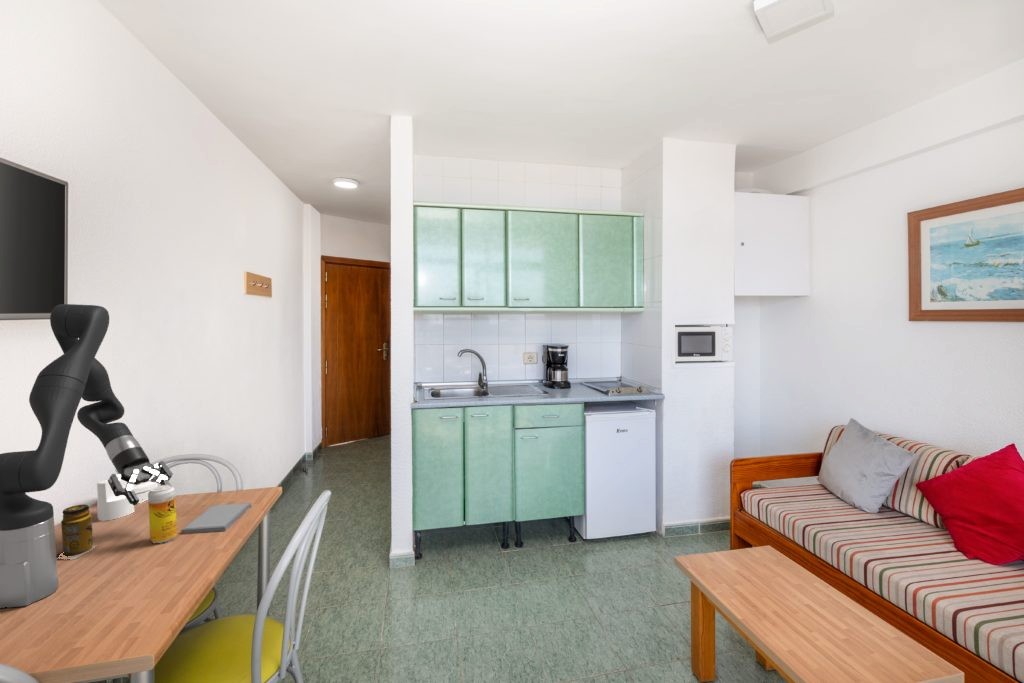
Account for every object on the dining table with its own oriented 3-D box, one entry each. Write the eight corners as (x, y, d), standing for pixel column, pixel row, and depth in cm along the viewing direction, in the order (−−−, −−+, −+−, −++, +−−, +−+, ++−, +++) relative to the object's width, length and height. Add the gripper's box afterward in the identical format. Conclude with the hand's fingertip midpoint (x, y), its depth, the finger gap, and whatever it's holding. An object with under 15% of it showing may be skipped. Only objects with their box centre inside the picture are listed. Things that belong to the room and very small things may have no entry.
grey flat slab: (225, 530, 137) (225, 526, 137) (181, 533, 136) (181, 529, 136) (251, 506, 155) (251, 502, 155) (212, 508, 154) (212, 505, 154)
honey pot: (144, 504, 158) (141, 452, 157) (102, 507, 156) (98, 455, 155) (166, 491, 171) (163, 442, 170) (127, 493, 169) (124, 444, 168)
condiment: (102, 544, 130) (99, 502, 130) (74, 559, 122) (71, 515, 121) (75, 545, 130) (72, 503, 130) (46, 560, 122) (43, 516, 121)
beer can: (166, 544, 129) (163, 491, 129) (145, 544, 130) (142, 492, 129) (182, 534, 136) (179, 484, 135) (161, 534, 136) (159, 484, 135)
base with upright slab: (117, 508, 155) (115, 473, 154) (141, 509, 154) (139, 474, 153) (90, 520, 146) (87, 483, 146) (115, 521, 145) (112, 484, 144)
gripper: (102, 453, 129) (130, 499, 126) (158, 440, 143) (184, 481, 139) (93, 469, 132) (119, 515, 128) (148, 455, 145) (174, 496, 141)
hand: (153, 497), depth 133 cm, fingers open, 8 cm apart
